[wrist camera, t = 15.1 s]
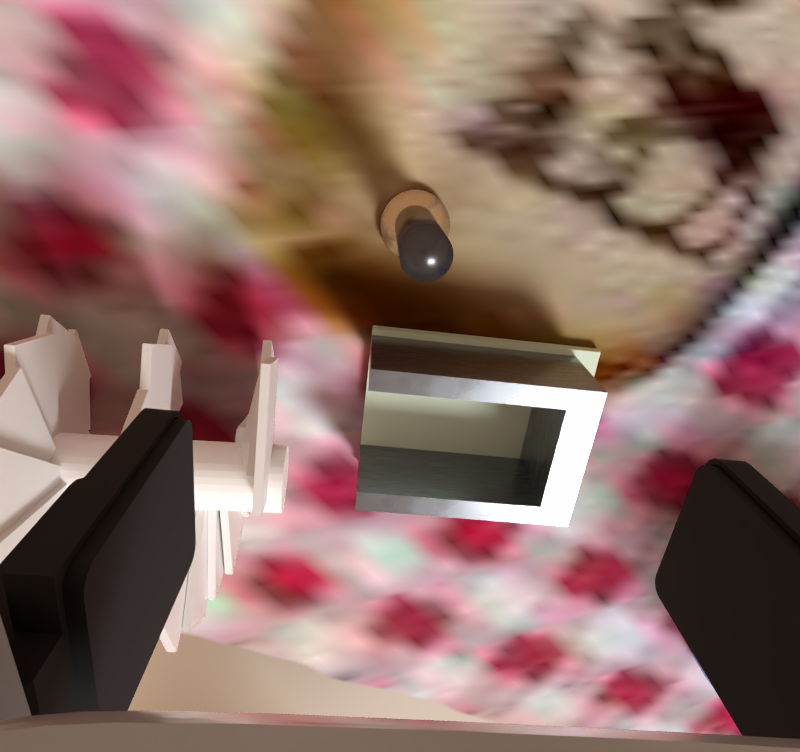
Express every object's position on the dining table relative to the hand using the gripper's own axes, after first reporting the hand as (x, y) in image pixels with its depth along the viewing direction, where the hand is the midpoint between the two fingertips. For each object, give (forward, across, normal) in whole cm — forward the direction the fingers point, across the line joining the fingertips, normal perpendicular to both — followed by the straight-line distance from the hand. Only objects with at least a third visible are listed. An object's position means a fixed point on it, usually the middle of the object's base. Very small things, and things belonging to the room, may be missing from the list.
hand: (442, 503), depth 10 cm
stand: (+28, -1, -1) cm, 28 cm away
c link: (+28, -6, +11) cm, 30 cm away
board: (+28, -7, +12) cm, 31 cm away
